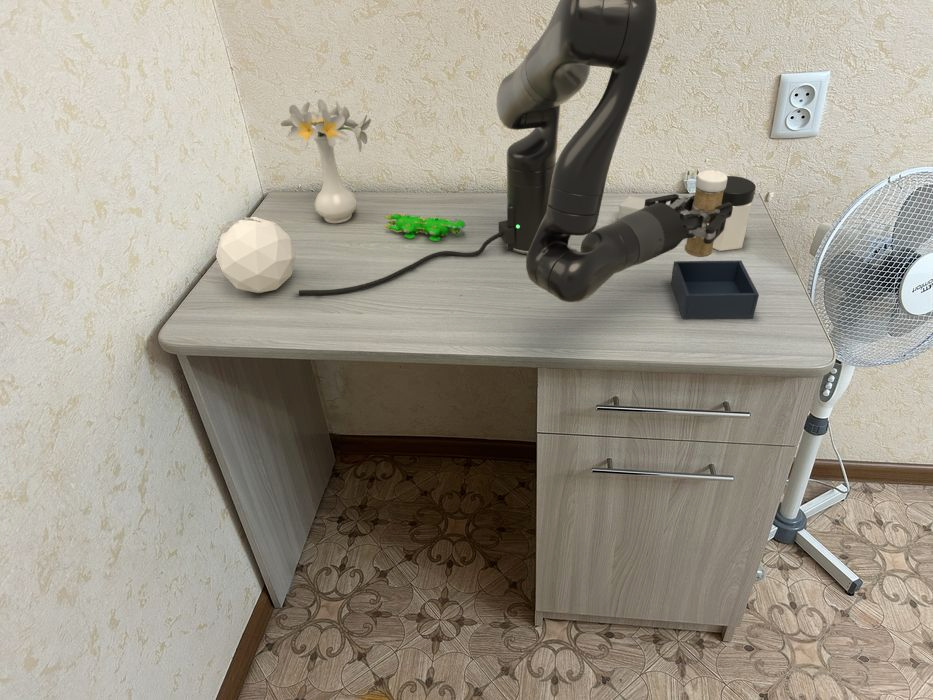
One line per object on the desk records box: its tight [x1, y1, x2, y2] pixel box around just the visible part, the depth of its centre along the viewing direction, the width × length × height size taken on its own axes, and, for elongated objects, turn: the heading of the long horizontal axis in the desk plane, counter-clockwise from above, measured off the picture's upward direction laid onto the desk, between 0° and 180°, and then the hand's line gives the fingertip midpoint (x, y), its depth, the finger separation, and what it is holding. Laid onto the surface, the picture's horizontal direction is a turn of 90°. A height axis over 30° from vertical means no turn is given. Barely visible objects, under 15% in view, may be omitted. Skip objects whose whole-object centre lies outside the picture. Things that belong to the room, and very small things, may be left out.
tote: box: [670, 259, 760, 320], centre depth 119 cm, size 12×11×5 cm
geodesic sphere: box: [215, 215, 297, 294], centre depth 127 cm, size 15×14×14 cm
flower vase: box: [280, 98, 372, 224], centre depth 146 cm, size 13×18×25 cm
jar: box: [713, 175, 757, 252], centre depth 133 cm, size 9×8×12 cm
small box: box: [617, 195, 647, 220], centre depth 143 cm, size 6×6×5 cm
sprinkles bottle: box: [684, 169, 728, 258], centre depth 110 cm, size 5×5×13 cm
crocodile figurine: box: [383, 213, 467, 242], centre depth 144 cm, size 7×18×4 cm, turn 74°
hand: (717, 203), depth 111 cm, fingers closed on sprinkles bottle, 4 cm apart
